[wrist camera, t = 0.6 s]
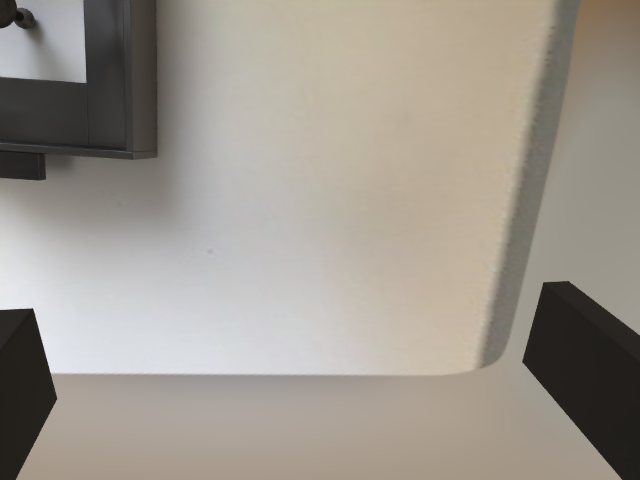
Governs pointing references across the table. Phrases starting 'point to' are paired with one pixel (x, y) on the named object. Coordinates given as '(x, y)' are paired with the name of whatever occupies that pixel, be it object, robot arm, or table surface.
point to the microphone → (15, 15)
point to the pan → (88, 97)
